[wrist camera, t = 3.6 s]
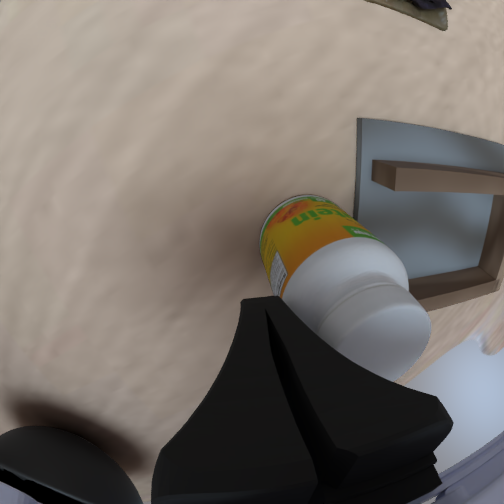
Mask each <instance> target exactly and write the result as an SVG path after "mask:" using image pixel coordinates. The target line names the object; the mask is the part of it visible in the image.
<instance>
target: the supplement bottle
mask: <svg viewBox="0 0 504 504" xmlns="http://www.w3.org/2000/svg"><path fill="white" fill-rule="evenodd" d="M259 246H260V253H261V257H262V261H263V264H264V267H265V270H266V273H267V276H268V279H269V282H270V285H271V288H272V291H273V294H274V296H277V295H278V296H279V297H280V298H281V299H282V300H283V301H284V302H285V303H286V304H287V305H288V307H289V308H290V309H291V310H292V311H293V312H294V313H295V314H296V315H297V316H298V317H299V318H300V319H301V320H302V321H303V322H304V323H305V324H306V325H307V326H308V327H309V328H310V329H311V330H312V331H313V332H314V333H316V334H317V335H318V336H319V337H320V338H321V339H323V340H324V341H325V342H326V343H327V344H329V345H330V346H331V347H332V348H334V349H335V350H336V351H338V352H339V353H341V354H342V355H344V356H345V357H347V358H348V359H350V360H351V361H353V362H355V363H356V364H358V365H360V366H361V367H363V368H365V369H367V370H369V371H371V372H373V373H375V374H376V375H379V376H381V377H383V378H385V379H387V380H390V381H392V382H393V381H395V380H396V379H398V378H399V377H401V376H402V375H403V374H404V373H405V372H407V371H408V370H409V369H410V368H411V367H412V366H413V365H414V363H415V362H416V361H417V360H418V359H419V357H420V356H421V354H422V353H423V351H424V350H425V348H426V346H427V344H428V341H429V338H430V334H431V321H430V318H429V315H428V313H427V312H426V310H425V309H424V308H423V307H422V306H421V305H420V303H419V302H418V301H417V300H416V299H415V298H414V297H413V295H412V294H411V293H410V292H409V283H408V276H407V272H406V269H405V267H404V265H403V263H402V261H401V260H400V259H399V257H398V256H397V255H396V254H395V253H394V252H393V251H392V250H391V249H390V248H389V247H388V246H386V245H385V244H384V243H383V242H382V241H381V240H379V239H378V238H377V237H375V236H374V235H373V234H372V233H371V232H369V231H368V230H367V229H366V228H364V227H363V226H362V225H361V224H359V223H358V222H357V221H356V220H355V219H353V218H352V217H351V216H350V215H348V214H347V213H346V212H345V211H343V210H342V209H341V208H339V207H338V206H337V205H336V204H334V203H333V202H331V201H329V200H327V199H325V198H322V197H319V196H314V195H302V196H297V197H293V198H291V199H288V200H286V201H284V202H283V203H281V204H280V205H278V206H277V207H276V208H275V209H274V210H273V211H272V212H271V213H270V214H269V216H268V217H267V219H266V221H265V222H264V225H263V227H262V230H261V234H260V241H259Z"/></svg>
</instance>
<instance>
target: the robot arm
mask: <svg viewBox="0 0 504 504" xmlns="http://www.w3.org/2000/svg"><path fill="white" fill-rule="evenodd" d="M240 303H241V311H240V317H239V322H238V326H237V329H236V333H235V336H234V339H233V342H232V345H231V347H230V350H229V352H228V355H227V357H226V360H225V362H224V364H223V366H222V368H221V370H220V372H219V374H218V376H217V378H216V380H215V381H214V383H213V385H212V386H211V388H210V390H209V391H208V393H207V395H206V396H205V398H204V399H203V401H202V402H201V404H200V405H199V406H198V408H197V409H196V410H195V411H194V413H193V414H192V415H191V417H190V418H189V419H188V421H187V422H186V423H185V424H184V426H183V427H182V428H181V429H180V430H179V431H178V432H177V433H176V434H175V435H174V437H173V438H172V439H171V440H170V441H169V442H168V443H167V444H166V445H165V446H164V447H163V448H162V449H161V451H160V453H159V456H158V459H157V462H156V465H155V469H154V473H153V478H152V489H151V504H422V503H424V502H425V501H428V500H429V499H431V498H433V497H435V496H437V495H438V496H437V497H436V501H435V502H433V503H431V504H504V431H503V432H502V433H501V434H499V435H498V436H497V437H495V438H494V439H493V440H491V441H490V442H489V443H487V444H486V445H484V446H483V447H482V448H480V449H479V450H477V451H476V452H474V453H473V454H471V455H470V456H468V457H467V458H465V459H463V460H462V461H460V462H459V463H457V464H455V465H454V466H452V467H450V468H448V469H447V470H445V471H443V472H441V473H439V474H438V473H437V471H436V469H435V467H434V465H433V464H435V463H436V462H437V459H436V457H435V455H434V453H433V451H434V450H435V449H436V448H437V447H438V446H439V445H440V443H441V442H442V441H443V440H444V439H445V438H446V437H447V435H448V434H449V433H450V431H451V429H452V426H453V421H452V419H451V417H450V416H449V414H448V413H447V411H446V409H445V407H444V406H443V404H442V403H441V402H440V401H439V399H438V398H437V397H436V396H433V395H430V394H426V393H423V392H420V391H416V390H413V389H410V388H407V387H404V386H402V385H399V384H397V383H394V382H392V381H390V380H387V379H385V378H383V377H381V376H379V375H376V374H375V373H373V372H371V371H369V370H367V369H365V368H363V367H361V366H360V365H358V364H356V363H355V362H353V361H351V360H350V359H348V358H347V357H345V356H344V355H342V354H341V353H339V352H338V351H336V350H335V349H334V348H332V347H331V346H330V345H329V344H327V343H326V342H325V341H324V340H323V339H321V338H320V337H319V336H318V335H317V334H316V333H314V332H313V331H312V330H311V329H310V328H309V327H308V326H307V325H306V324H305V323H304V322H303V321H302V320H301V319H300V318H299V317H298V316H297V315H296V314H295V313H294V312H293V311H292V310H291V309H290V308H289V307H288V305H287V304H286V303H285V302H284V301H283V300H282V299H281V298H280V297H279V296H278V295H277V296H268V297H259V298H249V299H243V300H242V301H241V302H240ZM0 504H42V503H39V502H37V501H36V500H35V499H33V498H32V497H30V496H28V495H27V494H25V493H23V492H21V491H20V490H17V489H15V488H13V487H11V486H9V485H7V484H5V483H3V482H1V481H0Z"/></svg>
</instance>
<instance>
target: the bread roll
mask: <svg viewBox="0 0 504 504" xmlns="http://www.w3.org/2000/svg"><path fill="white" fill-rule="evenodd" d="M365 1H367V2H371V3H376V4H378V5H381V6H384V7H387V8H390V9H393V10H395V11H398V12H400V13H402V14H406V15H408V16H411V17H413V18H415V19H418V20H420V21H422V22H425V23H427V24H429V25H431V26H433V27H436V28H438V29H440V30H442V31H445V30H447V28H448V24H447V22H448V20H447V12H446V8H449V9H452V8H451V7H450V5H449V4H448V3H447V2H446V0H365Z"/></svg>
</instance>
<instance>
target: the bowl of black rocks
mask: <svg viewBox="0 0 504 504" xmlns="http://www.w3.org/2000/svg"><path fill="white" fill-rule="evenodd" d="M0 481H1V482H3V483H5V484H7V485H9V486H11V487H13V488H15V489H17V490H20V491H21V492H23V493H25V494H27V495H28V496H30V497H32V498H33V499H35V500H36V501H37V502H39V503H42V504H143V502H142V500H141V497H140V495H139V493H138V491H137V489H136V488H135V486H134V484H133V483H132V481H131V480H130V478H129V477H128V476H127V474H126V473H125V472H124V471H123V469H122V468H121V467H120V466H119V465H118V464H117V463H116V462H115V461H114V460H113V459H112V458H111V457H110V456H108V455H107V454H106V453H105V452H103V451H102V450H101V449H99V448H98V447H97V446H95V445H94V444H92V443H90V442H88V441H87V440H85V439H83V438H81V437H79V436H77V435H75V434H72V433H70V432H67V431H64V430H60V429H56V428H52V427H45V426H26V427H20V428H16V429H13V430H10V431H8V432H6V433H4V434H2V435H1V436H0Z"/></svg>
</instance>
